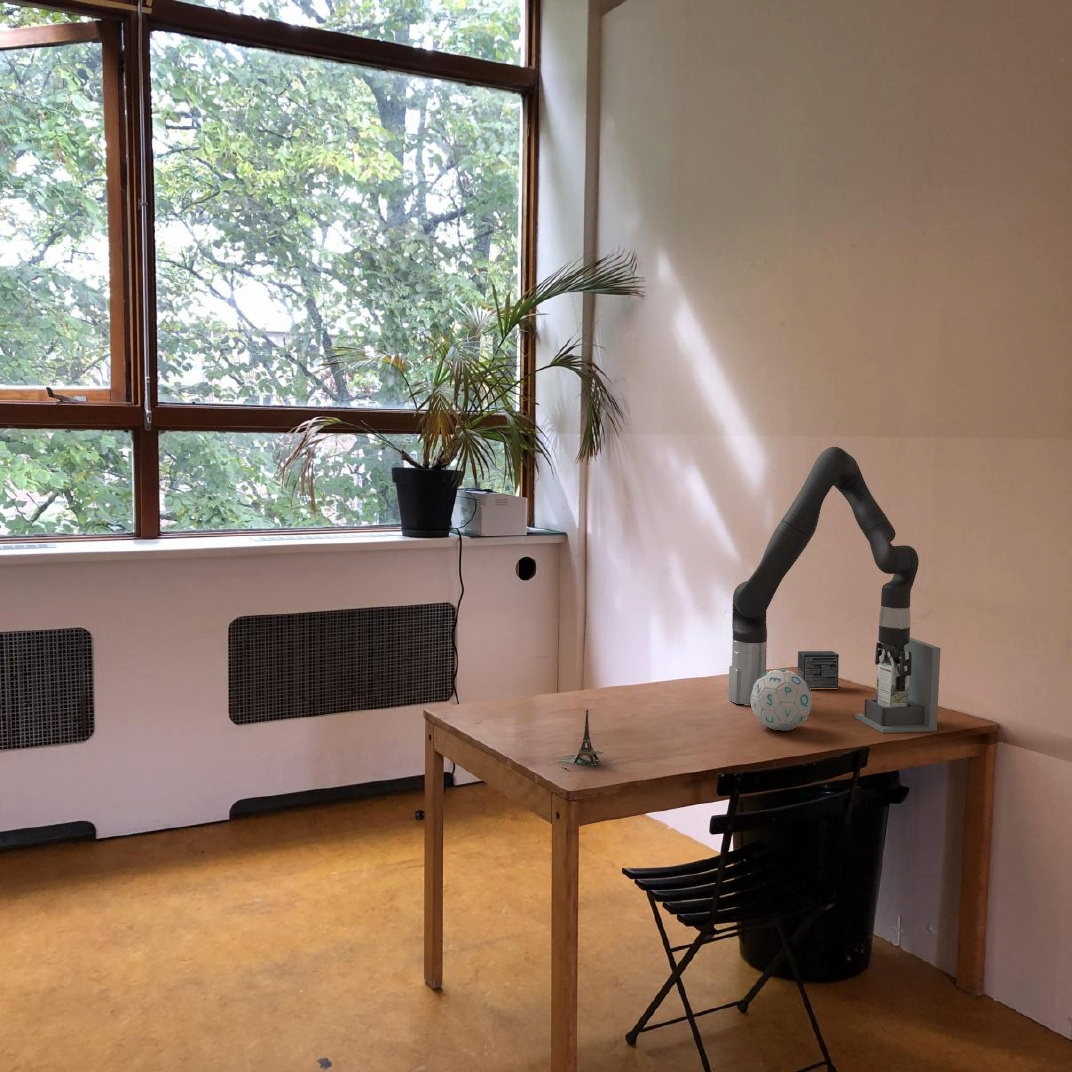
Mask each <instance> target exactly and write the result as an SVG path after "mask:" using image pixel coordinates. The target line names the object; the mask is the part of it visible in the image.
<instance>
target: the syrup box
mask: <svg viewBox="0 0 1072 1072" xmlns="http://www.w3.org/2000/svg"><path fill="white" fill-rule="evenodd" d="M906 670H907V666H906ZM899 671H900V669H899ZM876 672H877V673H876V686H875V687H876V689H875V691H876V692H875V699H876V703H877V704H879V705H881V706H883V707H908V694H909V677H910V676H906V679H905V691H901V692H898V691H896V676H897V675H896V672H895V669H894V668H892V665H891V664H890V663H886V664H878V665H877V670H876Z"/></svg>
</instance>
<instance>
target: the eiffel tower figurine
mask: <svg viewBox="0 0 1072 1072" xmlns="http://www.w3.org/2000/svg"><path fill="white" fill-rule="evenodd" d="M584 721H585V723H584V733H583V739H582V743H581V747H580V748H579V749H578V754H571V755H567V756H564V757H568V758H565V759H560V760H558V761H559V762H556V763H555V764H557V763H559V764H558V765H560V766H566V765H570V764H571V765H580V766H589V765H596V766H597V765H598V763H599V762H600V760H599V759H600V758H599V756H598V755H602V754H604V753H603V752H604V751H602V750H596V751H594V748H595V747H593V746H592V743H591V742H592V741H591V737H590V729H589V728H590V727H589V709H588V708H586V710H585V720H584ZM586 745H587V746H586ZM584 756H586V757H587V758H590V759H585V758H586V757H584ZM572 757H575V758H572ZM581 757H582V758H581ZM574 759H575V760H574ZM596 760H599V761H596ZM563 769H564V770H567V771H568V772H573V770H572V769H570V768H569V769H570V770H569V769H565V768H563Z"/></svg>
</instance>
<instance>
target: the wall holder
mask: <svg viewBox="0 0 1072 1072" xmlns="http://www.w3.org/2000/svg"><path fill="white" fill-rule="evenodd" d="M904 650H905V652H911V653H912V661H911V676H910V677H909V694H908V707H883V706H881V705H879V704H877V703H876V698H868V699H867V698H865V699H864V709H863V710H864V711H863V712H864V713H854V718H855V719H857V720H858V721H860V722H861V723H864V724H865V725H868V726H869V727H871V728H872V729H875V730H877V731H878V732H880V733H882V734H887V733H889V734H891V733H894V734H896V733H917V732H918V733H920V732H923V733H924V732H937V731H938V714H939V713H938V710H939V693H940V692H939V689H940V686H939V685H940V671H941V670H940V669H941V668H940V666H941V647H938V646H935V645H934V644H930V643H927V642H925V641H922V640H920V639H916V638H913V637H911V636H910V642H909V643H908V644H906V645H905V646H904Z"/></svg>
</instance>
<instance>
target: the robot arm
mask: <svg viewBox="0 0 1072 1072" xmlns="http://www.w3.org/2000/svg"><path fill="white" fill-rule="evenodd" d="M832 487H835V489H837V490H838V491H839V493H841V495H842V496H843V497H844V498H845V500H846V501H847V502H848V504H849V505H850V507H851V510H852V513H853V516H854V518H855V521H856V523H857V525H858V527H859V528H860V530H861V533H862V534H864V536H865V538H866V539H867V541H868V543H869V546H870V550H871V553H872V557H873V560H874V563H875V565H876V567H877V568H878V569H879V570H880V571H881V572H882V573H884V574H886V575H892V576H893V577H892V579H891V580H890V581H889V582H887V583H884V584H883V585H882V586H881V594H880V595H881V597H880V598H881V599H880V609H879V616H878V617H879V620H878V641H877V642H876V644H875V645H876V646H875V657H874V658H875V660H874V664H875V665H876V666H878V664H886V663H890V664H891V665H892V668H894V669H895V672H896V675H897V676H896V691H898V692H901V691H905V679H906V676H911V661H912V653H911V652H905V650H904V646H905V645H906V644H908V643H909V642H910V637H911V616H912V615H911V591H912V588H913V587H914V583H915V579H916V575H917V573H918V569H919V564H920V563H919V561H920V560H919V555H918V553H917V551H916V549H915V548H914V547H913V546H911V545H903V544H902V545H893V544H892V543H891V542H893V541H894V540H895V537H896V535H897V534H896V530H895V527H893V525H892V523H891V521H890V520H889V519H888V517H887V516H886V514H885V512H884V511H883V510H882V508H881V507H880V506H879V504H878V502H877V501H876V500H875V498H874V497H873V495H872V493H871V491H870V489H869V488H868V485H867V483H866V481H865V479H864V477H863V475H862V472H861V468H860V467H859V464H858V463H857V461H856V459H855V458H854V457H853V456H852V455H851V454H850V453H848V452H847V451H846V450H844V449H843V448H841V447H839V446H830V447H828V448H826V449H825V450H823V451H821V453H820V454H819V455H818V456H817V458H816V460H815V461H814V463H813V466H812V468H811V469H810V472H809V473H808V475H807V477H806V480H805V481H804V483H803V486H802V488H801V489H800V491H799V492H798V494H797V495H796V497H795V498H794V500H793V502H792V503H791V505H790V507H789V508H788V510H787V511H786V513H785V514H784V516H783V517H782V518H781V520H780V522H779V523H778V525H777V526H776V528H775V529H774V531H773V533H772V535H771V537H770V539H769V541H768V543H767V546H766V549H765V551H764V553H763V556H762V559H761V560H760V563H759V564H758V566H757V568H756V569H755V570H754V572H753V573H752V575H751V576H750V577H749V579H748V580H746V581H743V582H741V583H739V584H738V585H737V586H736V588H735V589H734V591H733V594H732V595H733V596H732V615H731V616H732V617H731V619H732V620H731V621H732V622H731V626H732V646H731V648H732V650H731V651H732V652H731V653H732V655H731V665H729V667H728V668H729V669H728V698H727V699H729V700H728V701H730V702H731V701H732V702H731V703H733V702H734V703H736V704H748V705H747V706H750V705H751V703H750V699H751V694H752V693H751V691H752V688H753V686H754V684H755V683H756V681H757V680H758V679H759V677H760V676H762V675H763V674H765V673H766V672H767V653H768V652H767V648H768V627H767V611H768V609H769V606H770V604H771V602H772V600H773V598H774V596H775V593H776V592H777V590H778V588H779V586H780V584H781V583H782V581H783V579H785V576H786V575H787V573H788V572H789V571H790V569H791V568H792V567H793V566H794V564H795V563H796V561H798V559H799V558H800V556H801V554H802V553H803V552H804V550H806V549H805V548H806V547H807V546H808V545H809V543H810V541H811V540H812V538H813V537H814V535H815V533H816V530H817V527H818V523H819V519H820V514H821V510H822V507H823V503H824V500H825V499H826V497H827V495H828V494H829V492H830V491H831V489H832ZM906 666H907V670H906ZM899 669H900V671H899ZM734 703H733V704H734ZM736 704H735V705H736Z"/></svg>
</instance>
